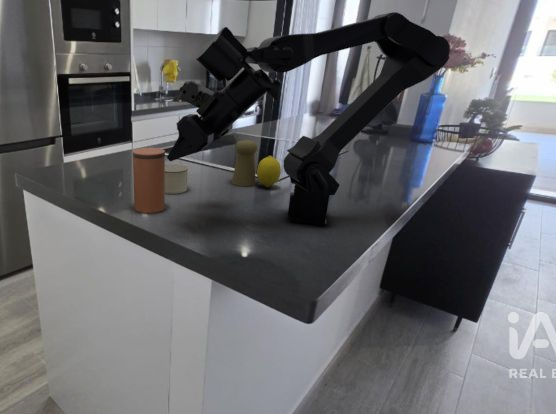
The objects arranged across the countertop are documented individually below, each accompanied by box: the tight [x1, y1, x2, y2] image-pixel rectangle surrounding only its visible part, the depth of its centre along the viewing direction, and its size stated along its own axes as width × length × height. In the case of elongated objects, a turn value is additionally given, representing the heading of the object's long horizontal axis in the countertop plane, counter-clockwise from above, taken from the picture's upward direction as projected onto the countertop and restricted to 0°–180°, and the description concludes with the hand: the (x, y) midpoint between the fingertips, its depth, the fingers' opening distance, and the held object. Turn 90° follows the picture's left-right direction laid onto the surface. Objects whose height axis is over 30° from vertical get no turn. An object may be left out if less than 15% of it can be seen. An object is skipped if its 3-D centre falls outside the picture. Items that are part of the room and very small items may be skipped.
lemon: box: [256, 155, 282, 188], centre depth 94 cm, size 6×6×8 cm
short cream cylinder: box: [165, 163, 189, 195], centre depth 94 cm, size 7×7×6 cm
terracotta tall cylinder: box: [132, 147, 166, 214], centre depth 81 cm, size 7×7×12 cm
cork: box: [231, 139, 258, 187], centre depth 97 cm, size 6×6×11 cm
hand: (177, 154), depth 76 cm, fingers open, 9 cm apart
